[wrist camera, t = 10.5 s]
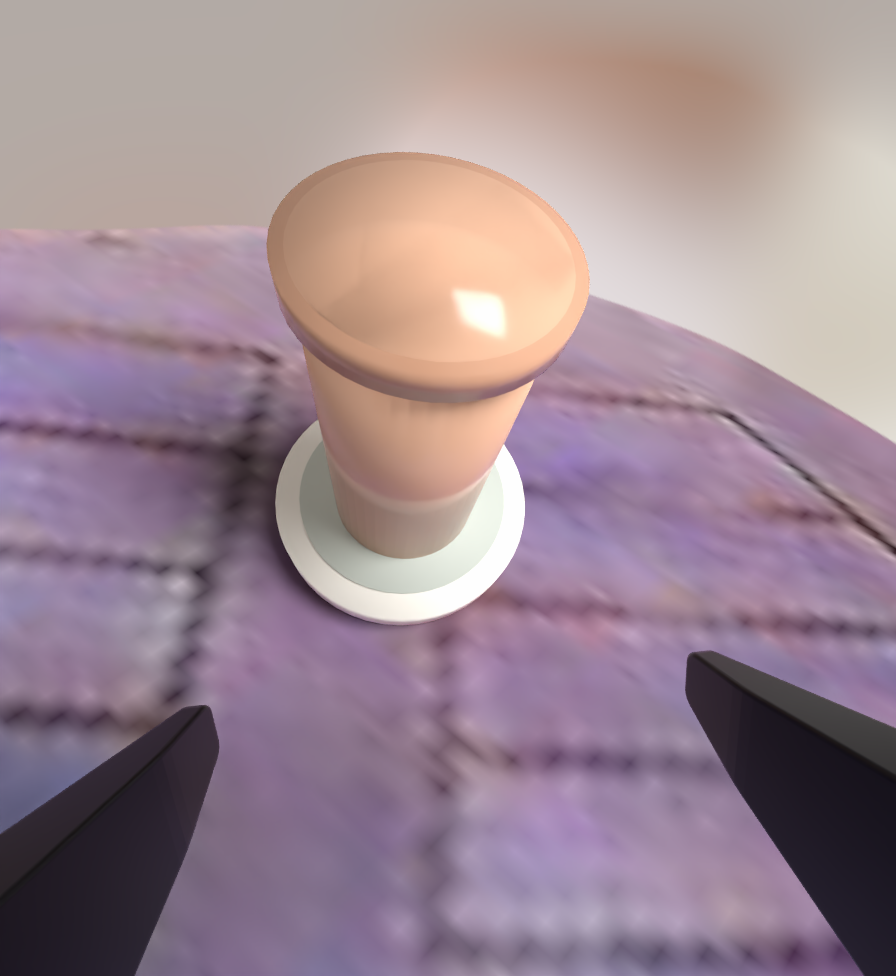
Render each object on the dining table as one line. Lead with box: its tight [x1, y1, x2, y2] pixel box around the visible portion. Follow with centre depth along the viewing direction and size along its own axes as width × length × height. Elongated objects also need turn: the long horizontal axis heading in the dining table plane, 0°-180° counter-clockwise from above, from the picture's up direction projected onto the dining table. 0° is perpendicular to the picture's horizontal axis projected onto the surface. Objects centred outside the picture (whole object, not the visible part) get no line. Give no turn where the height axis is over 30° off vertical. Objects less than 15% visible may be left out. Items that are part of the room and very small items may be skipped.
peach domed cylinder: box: [267, 152, 590, 559], centre depth 15 cm, size 7×7×12 cm
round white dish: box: [275, 420, 525, 625], centre depth 21 cm, size 11×11×2 cm
